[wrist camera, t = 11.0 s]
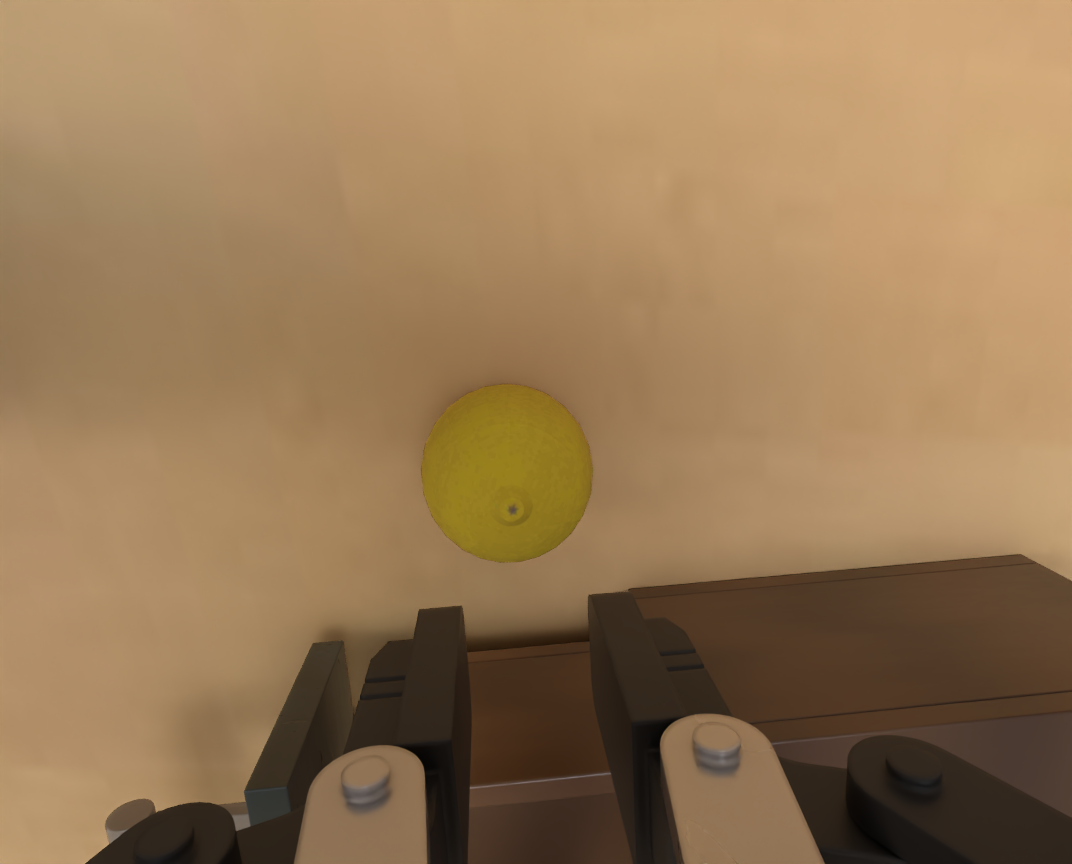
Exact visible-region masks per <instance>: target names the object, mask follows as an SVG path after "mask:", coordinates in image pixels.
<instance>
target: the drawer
mask: <svg viewBox="0 0 1072 864" xmlns="http://www.w3.org/2000/svg"><path fill="white" fill-rule="evenodd" d="M467 658H468V669H469V680H470V692H471V711H472V735H471V768H470V802H469V835H468V864H633V861H632V857H631V853H630V849H629V845H628V841H627V837H626V833H625V829H624V825H623V821H622V817H621V813H620V809H619V805H618V801H617V797H616V793H615V789H614V785H613V781H612V777H611V773H610V769H609V765H608V761H607V757H606V753H605V749H604V745H603V741H602V737H601V733H600V729H599V725H598V721H597V717H596V712H595V707H594V701H593V693H592V683H591V665H590V642H589V641H586V642H575V643H564V644H554V645H543V646H532V647H521V648H510V649H499V650H489V651H478V652H467ZM353 719H354V713H353V706H352V699H351V691H350V684H349V677H348V669H347V662H346V655H345V648H344V641H343V640H341V641H330V642H319V643H313V644H312V646H311V648H310V650H309V653H308V655H307V657H306V659H305V661H304V663H303V665H302V668H301V670H300V672H299V674H298V676H297V678H296V680H295V683H294V685H293V687H292V689H291V691H290V693H289V695H288V698H287V700H286V702H285V704H284V706H283V708H282V711H281V713H280V715H279V717H278V719H277V721H276V723H275V726H274V728H273V730H272V732H271V734H270V736H269V738H268V741H267V743H266V745H265V747H264V749H263V751H262V753H261V756H260V758H259V760H258V762H257V764H256V766H255V769H254V771H253V773H252V775H251V777H250V779H249V781H248V784H247V786H246V788H245V790H244V795H245V800H246V802H241V803H231V804H221V805H219V806H221V807H223V808H225V809H226V810H227V811H229V812H230V814H231V815H232V817H233V819H234V823H235V828H236V831H237V830H241V829H244V828H247V827H250V826H253V825H256V824H259V823H262V822H265V821H268V820H271V819H274V818H277V817H279V816H282V815H284V814H287V813H289V812H291V811H293V810H295V809H297V808H299V807H301V806H302V805H304V804H306V800H307V794H308V791H309V788H310V786H311V784H312V782H313V780H314V779H315V777H316V776H317V775H318V774H319V772H320V771H321V770H322V769H324V768H325V767H326V766H327V765H328V764H330V763H331V762H332V761H334V760H335V759H337V758H339V757H341V756H342V755H343V752H344V749H345V746H346V742H347V739H348V736H349V732H350V729H351V725H352V722H353ZM158 812H160V811H158ZM155 813H156V810H155V806H154V803H153V802H152V801H151V800H148V799H137V800H133V801H130V802H127V803H125V804H123V805H121V806H120V807H118V808H117V809H115V810H114V811H113V812H112V813H111V814H110V815H109V816H108V818H107V820H106V823H105V828H106V832H107V837H108V841H109V844H110V843H112V842H113V841H114V840H115V839H117V838H118V837H119V836H120V835H121V834H123V833H124V832H125V831H127V830H128V829H129V828H131V827H132V826H134V825H135V824H137V823H138V822H140V821H142V820H143V819H145V818H147V817H149V816H151V815H153V814H155Z"/></svg>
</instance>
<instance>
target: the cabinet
mask: <svg viewBox="0 0 1072 864" xmlns="http://www.w3.org/2000/svg"><path fill="white" fill-rule="evenodd" d="M628 591H631V592H632V594H633V596H634V598H635V601H636V603H637V605H638V607H639V609H640V611H641V614H642V616H643V618H644V619H648V618H659V617H666V618H667V619H668V620H670V621H671V622H673V623H674V624H676V625H677V626H679V627H680V628H681V629H683V630H684V631H686V633H687V635H688V637H689V639H690V640H691V642H692V644H693V646H694V647H695V649H696V653H698V655H699V656H700V658H701V660H702V662H703V664H704V668H706V669H707V671H708V673H709V674H710V676H711V678H712V680H713V681H714V683H715V685H716V687H717V689H718V690H719V692H720V694H721V696H722V698H723V699H724V701H725V703H726V705H727V707H728V708H729V710H730V712H731V714H732V715H733V717H734V718H737V719H739V720H742V721H744V722H746V723H748V724H750V725H752V726H754V727H755V728H757V729H758V730H759V731H760V732H762V733H763V734H764V735H765V736H766V737H767V739H768V740H769V741H770V743H771V745H772V746H773V748H774V751H775V753H776V755H777V756H780V757H783V758H785V759H789V760H793V761H797V762H802V763H808V764H816V765H823V766H831V767H838V768H846V769H847V758H848V754H849V751H850V750H851V748H852V747H853V746H854V745H855V744H856V743H858V742H859V741H861V740H863V739H866V738H869V737H872V736H879V735H897V736H905V737H911V738H915V739H919V740H922V741H925V742H928V743H931V744H933V745H936V746H938V747H940V748H942V749H944V750H946V751H948V752H950V753H952V754H954V755H956V756H957V757H959V758H961V759H963V760H965V761H967V762H969V763H970V764H972V765H974V766H976V767H978V768H980V769H982V770H984V771H985V772H987V773H989V774H991V775H993V776H995V777H997V778H998V779H1000V780H1002V781H1004V782H1006V783H1008V784H1010V785H1011V786H1013V787H1015V788H1017V789H1019V790H1021V791H1023V792H1025V793H1026V794H1028V795H1030V796H1032V797H1034V798H1036V799H1038V800H1039V801H1041V802H1043V803H1045V804H1047V805H1049V806H1051V807H1052V808H1054V809H1056V810H1058V811H1060V812H1062V813H1064V814H1066V815H1067V816H1069V817H1071V818H1072V581H1071V580H1069V579H1067V578H1065V577H1063V576H1061V575H1059V574H1057V573H1055V572H1054V571H1052V570H1050V569H1048V568H1046V567H1044V566H1042V565H1040V564H1038V563H1036V562H1034V561H1033V560H1031V559H1029V558H1027V557H1025V556H1023V555H1011V556H1000V557H988V558H977V559H966V560H955V561H943V562H932V563H921V564H909V565H898V566H887V567H875V568H864V569H853V570H842V571H830V572H819V573H808V574H796V575H785V576H774V577H762V578H751V579H740V580H729V581H717V582H706V583H695V584H683V585H672V586H661V587H649V588H638V589H629V590H628Z"/></svg>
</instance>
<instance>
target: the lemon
mask: <svg viewBox="0 0 1072 864" xmlns="http://www.w3.org/2000/svg"><path fill="white" fill-rule="evenodd" d="M421 473H422V483H423V493H424V496H425V499H426V501H427V504H428V507H429V509H430V512H431V515H432V517H433V518H434V520H435V521H436V523H437V524H438V525H439V527H440V528H441V530H442V531H443V532H444V534H445V535H446V536H447V537H448V538H449V539H450V540H452V541H453V542H454V543H455V544H456V545H458V546H459V547H460V548H461V549H462V550H464V551H467V552H469V553H471V554H473V555H475V556H477V557H479V558H482V559H486V560H491V561H496V562H521V561H525V560H528V559H532V558H536V557H539V556H541V555H543V554H544V553H546V552H548V551H550V550H552V549H554V548H556V547H557V546H558V545H559V544H560V543H561V542H562V541H564V540H565V539H566V538H567V537H568V536H569V535H570V534H571V533H572V531H573V530H574V528H575V527H576V525H577V524H578V522H579V521H580V519H581V518H582V516H583V514H584V511H585V509H586V506H587V503H588V500H589V498H590V495H591V486H592V475H593V467H592V461H591V455H590V449H589V445H588V443H587V440H586V438H585V436H584V434H583V432H582V429H581V427H580V425H579V424H578V422H577V421H576V420H575V419H574V418H573V416H572V415H571V414H570V413H569V412H568V410H567V409H566V408H565V407H564V406H563V405H561V404H560V403H559V402H557V401H556V400H554V399H553V398H552V397H550V396H549V395H547V394H546V393H543V392H541V391H538V390H535V389H533V388H530V387H528V386H521V385H513V384H500V385H493V386H485V387H483V388H480V389H478V390H475V391H473V392H470V393H468V394H466V395H464V396H463V397H462V398H460V399H459V400H457V401H456V402H455V403H453V404H452V405H451V406H449V407H448V408H447V410H446V411H445V412H444V413H443V415H442V416H441V417H440V418H439V419H438V421H437V422H436V423H435V425H434V427H433V429H432V431H431V433H430V435H429V438H428V440H427V442H426V444H425V448H424V454H423V460H422V466H421Z"/></svg>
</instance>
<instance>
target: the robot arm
mask: <svg viewBox="0 0 1072 864" xmlns="http://www.w3.org/2000/svg"><path fill="white" fill-rule="evenodd" d="M588 620H589V642H590V665H591V683H592V693H593V701H594V707H595V712H596V717H597V721H598V725H599V729H600V733H601V737H602V741H603V745H604V749H605V753H606V757H607V761H608V765H609V769H610V773H611V777H612V781H613V785H614V789H615V793H616V797H617V801H618V805H619V809H620V813H621V817H622V821H623V825H624V829H625V833H626V837H627V841H628V845H629V849H630V853H631V857H632V861H633V864H1072V818H1071V817H1069V816H1067V815H1066V814H1064V813H1062V812H1060V811H1058V810H1056V809H1054V808H1052V807H1051V806H1049V805H1047V804H1045V803H1043V802H1041V801H1039V800H1038V799H1036V798H1034V797H1032V796H1030V795H1028V794H1026V793H1025V792H1023V791H1021V790H1019V789H1017V788H1015V787H1013V786H1011V785H1010V784H1008V783H1006V782H1004V781H1002V780H1000V779H998V778H997V777H995V776H993V775H991V774H989V773H987V772H985V771H984V770H982V769H980V768H978V767H976V766H974V765H972V764H970V763H969V762H967V761H965V760H963V759H961V758H959V757H957V756H956V755H954V754H952V753H950V752H948V751H946V750H944V749H942V748H940V747H938V746H936V745H933V744H931V743H928V742H925V741H922V740H919V739H915V738H911V737H905V736H897V735H879V736H872V737H869V738H866V739H863V740H861V741H859V742H858V743H856V744H855V745H854V746H853V747H852V748H851V750H850V751H849V754H848V758H847V769H846V768H838V767H831V766H823V765H816V764H808V763H802V762H797V761H793V760H789V759H785V758H783V757H780V756H777V755H776V753H775V751H774V748H773V746H772V745H771V743H770V741H769V740H768V739H767V737H766V736H765V735H764V734H763V733H762V732H760V731H759V730H758V729H757V728H755V727H754V726H752V725H750V724H748V723H746V722H744V721H742V720H739V719H737V718H734V717H733V715H732V714H731V712H730V710H729V708H728V707H727V705H726V703H725V701H724V699H723V698H722V696H721V694H720V692H719V690H718V689H717V687H716V685H715V683H714V681H713V680H712V678H711V676H710V674H709V673H708V671H707V669H706V668H704V664H703V662H702V660H701V658H700V656H699V655H698V653H696V649H695V647H694V646H693V644H692V642H691V640H690V639H689V637H688V635H687V633H686V631H684V630H683V629H681V628H680V627H679V626H677V625H676V624H674V623H673V622H671V621H670V620H668V619H667V618H666V617H659V618H648V619H644V618H643V616H642V614H641V611H640V609H639V607H638V605H637V603H636V601H635V598H634V596H633V594H632V592H631V591H627V592H615V593H604V594H592V595H589V596H588ZM471 735H472V711H471V692H470V680H469V669H468V658H467V647H466V636H465V625H464V615H463V608H462V606H452V607H441V608H429V609H420V610H419V612H418V617H417V622H416V627H415V632H414V637H413V639H411V640H399V641H389V642H388V643H387V644H386V645H385V646H384V647H383V648H382V649H381V650H380V651H379V652H378V653H377V654H376V655H375V656H374V657H373V658H372V659H371V661H370V665H369V668H368V671H367V675H366V678H365V684H364V685H363V688H362V692H361V695H360V701H359V702H358V705H357V709H356V712H355V715H354V719H353V722H352V725H351V729H350V732H349V736H348V739H347V742H346V746H345V749H344V752H343V755H342V756H341V757H339V758H337V759H335V760H334V761H332V762H331V763H330V764H328V765H327V766H326V767H325V768H324V769H322V770H321V771H320V772H319V774H318V775H317V776H316V777H315V779H314V780H313V782H312V784H311V786H310V788H309V791H308V794H307V800H306V804H304V805H302V806H301V807H299V808H297V809H295V810H293V811H291V812H289V813H287V814H284V815H282V816H279V817H277V818H274V819H271V820H268V821H265V822H262V823H259V824H256V825H253V826H250V827H247V828H244V829H241V830H238V831H236V828H235V823H234V819H233V817H232V815H231V814H230V812H229V811H227V810H226V809H225V808H223V807H221V806H219V805H216V804H212V803H204V802H197V803H187V804H182V805H178V806H174V807H171V808H167V809H165V810H162V811H160V812H157V813H155V814H153V815H151V816H149V817H147V818H145V819H143V820H142V821H140V822H138V823H137V824H135V825H134V826H132V827H131V828H129V829H128V830H127V831H125V832H124V833H123V834H121V835H120V836H119V837H118V838H117V839H115V840H114V841H113V842H112V843H110V844H109V845H108V846H107V847H105V848H104V849H103V850H102V851H100V852H99V853H98V854H97V855H95V856H94V857H93V858H92V859H90V860H89V861H88V862H87V863H85V864H468V835H469V802H470V768H471Z"/></svg>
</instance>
